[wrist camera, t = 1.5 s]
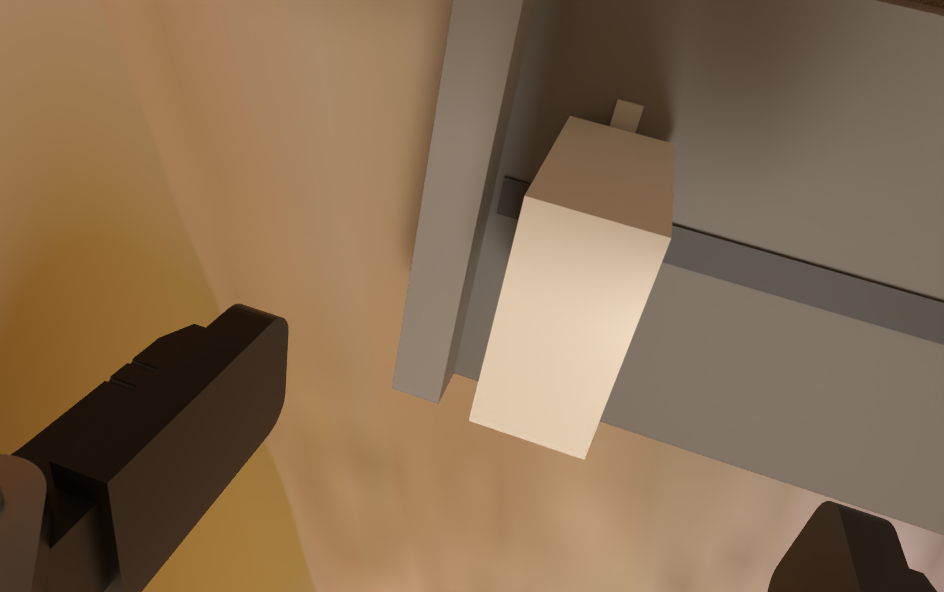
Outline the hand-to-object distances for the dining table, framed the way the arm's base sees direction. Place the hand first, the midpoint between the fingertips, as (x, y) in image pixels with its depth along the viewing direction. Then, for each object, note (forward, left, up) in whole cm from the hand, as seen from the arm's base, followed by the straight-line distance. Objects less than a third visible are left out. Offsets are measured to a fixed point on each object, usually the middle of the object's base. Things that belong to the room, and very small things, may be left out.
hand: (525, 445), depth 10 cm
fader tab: (0, 0, -8) cm, 8 cm away
